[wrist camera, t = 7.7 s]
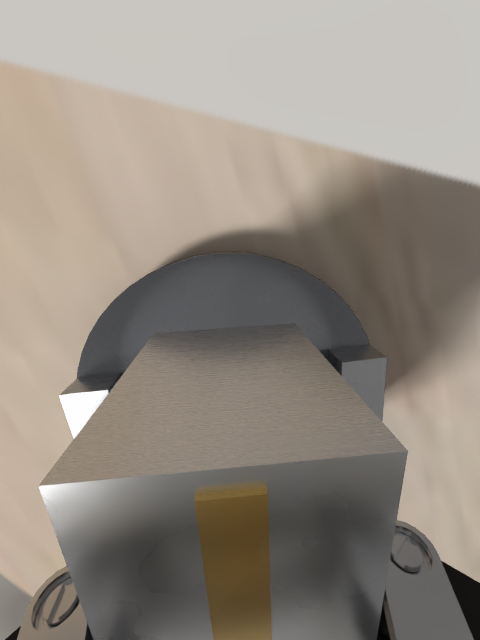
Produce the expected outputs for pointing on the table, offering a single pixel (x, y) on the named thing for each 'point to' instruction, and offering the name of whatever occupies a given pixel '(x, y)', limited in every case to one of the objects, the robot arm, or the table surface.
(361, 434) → the striped grey block
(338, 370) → the shallow grey dish
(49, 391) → the table surface
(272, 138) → the table surface
